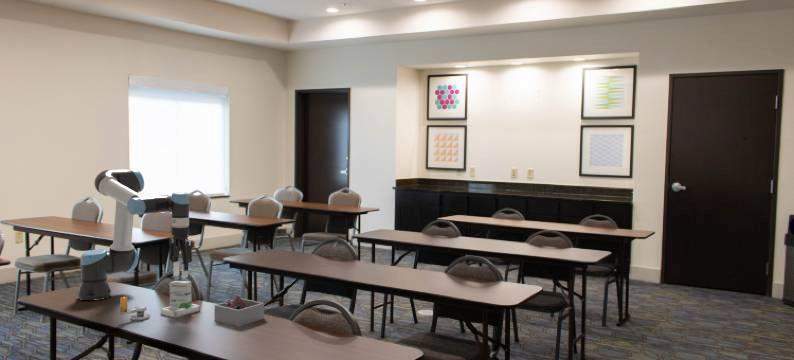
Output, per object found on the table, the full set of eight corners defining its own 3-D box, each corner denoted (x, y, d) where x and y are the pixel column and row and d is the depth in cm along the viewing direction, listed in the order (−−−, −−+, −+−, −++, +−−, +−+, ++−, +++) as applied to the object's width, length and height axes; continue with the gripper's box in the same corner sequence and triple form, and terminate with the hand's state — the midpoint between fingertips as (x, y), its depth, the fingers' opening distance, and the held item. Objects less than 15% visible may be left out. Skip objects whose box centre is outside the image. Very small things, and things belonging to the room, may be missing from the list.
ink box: (192, 306, 285) (192, 280, 285) (187, 308, 280) (187, 283, 280) (174, 305, 286) (174, 280, 285) (169, 308, 281) (169, 282, 281)
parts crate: (214, 320, 272) (214, 305, 271) (240, 312, 284) (240, 298, 284) (238, 326, 264) (238, 310, 263) (263, 318, 276) (263, 303, 276)
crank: (141, 308, 277) (141, 291, 277) (148, 310, 274) (148, 293, 274) (117, 314, 267) (117, 297, 267) (124, 316, 264) (124, 298, 264)
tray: (160, 314, 280) (160, 308, 280) (186, 307, 292) (186, 302, 292) (174, 317, 275) (174, 312, 275) (200, 310, 287) (200, 305, 286)
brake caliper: (240, 319, 266) (227, 295, 269) (225, 331, 270) (212, 308, 273) (257, 313, 276) (244, 290, 279) (242, 325, 280) (229, 302, 283)
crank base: (126, 318, 273) (126, 311, 272) (142, 314, 279) (142, 307, 279) (137, 321, 268) (137, 314, 268) (153, 317, 275) (153, 310, 275)
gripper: (160, 225, 283) (160, 275, 284) (186, 229, 273) (186, 280, 274) (174, 223, 289) (174, 272, 291) (200, 227, 279) (200, 277, 281)
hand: (180, 276), depth 282 cm, fingers open, 5 cm apart
